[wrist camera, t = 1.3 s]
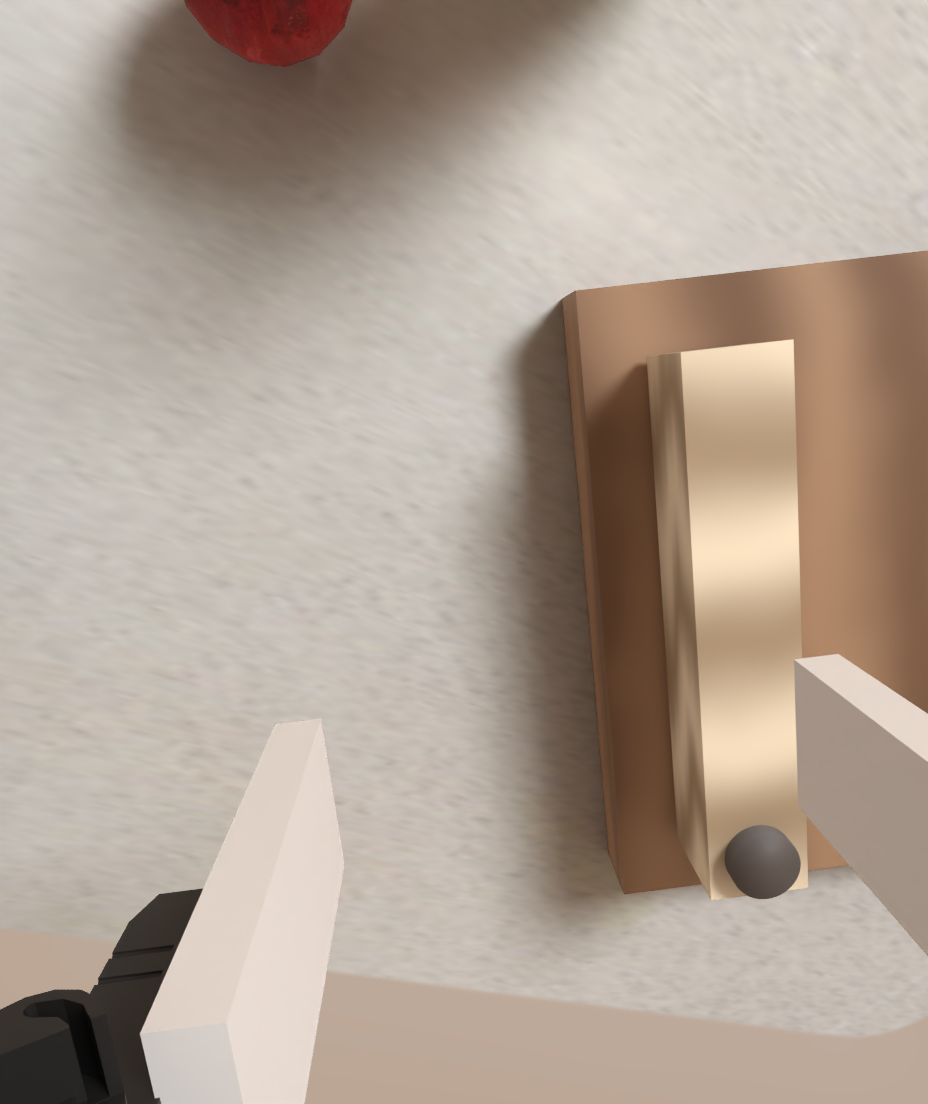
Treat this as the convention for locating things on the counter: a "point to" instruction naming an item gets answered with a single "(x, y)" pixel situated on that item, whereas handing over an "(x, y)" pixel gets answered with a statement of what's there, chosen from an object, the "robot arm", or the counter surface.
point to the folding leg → (731, 609)
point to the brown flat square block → (823, 501)
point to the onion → (272, 27)
